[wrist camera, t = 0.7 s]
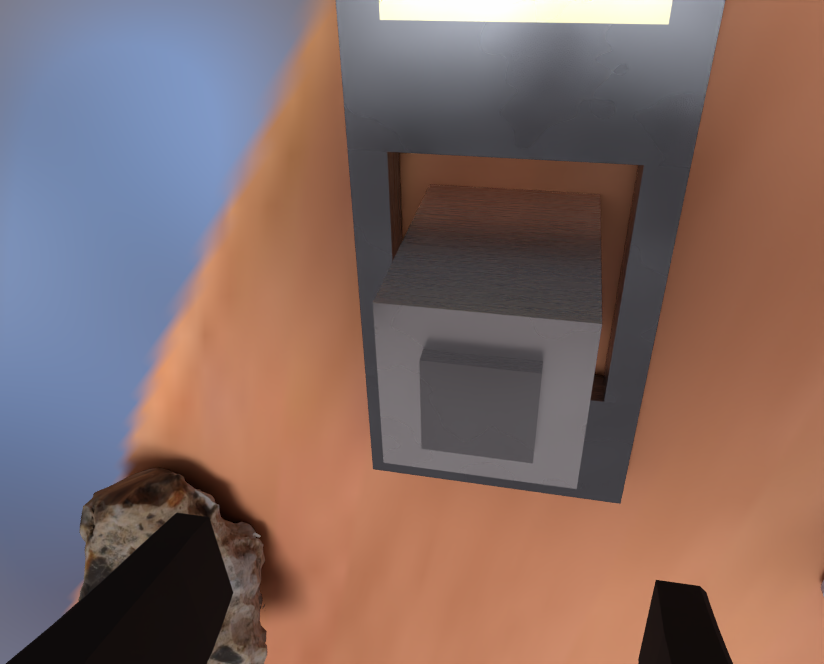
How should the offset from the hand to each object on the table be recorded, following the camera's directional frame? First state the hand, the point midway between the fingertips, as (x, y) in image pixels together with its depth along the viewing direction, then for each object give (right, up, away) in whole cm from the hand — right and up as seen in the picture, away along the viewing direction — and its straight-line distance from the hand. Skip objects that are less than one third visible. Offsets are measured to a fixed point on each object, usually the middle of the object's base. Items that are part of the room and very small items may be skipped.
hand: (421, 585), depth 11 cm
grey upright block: (+3, +6, +8) cm, 10 cm away
